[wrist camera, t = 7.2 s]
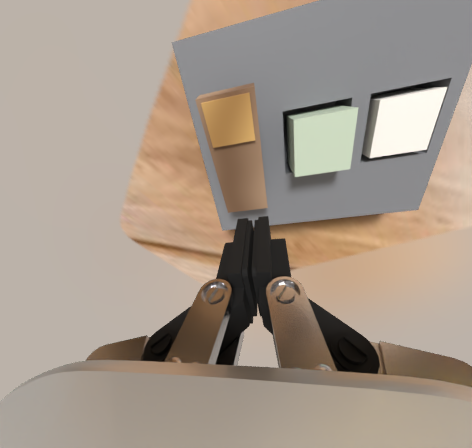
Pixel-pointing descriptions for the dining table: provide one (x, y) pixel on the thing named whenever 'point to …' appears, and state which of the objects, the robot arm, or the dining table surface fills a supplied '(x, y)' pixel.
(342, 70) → the console
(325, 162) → the sage button
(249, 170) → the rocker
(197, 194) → the dining table surface
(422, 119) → the white button
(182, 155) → the dining table surface
